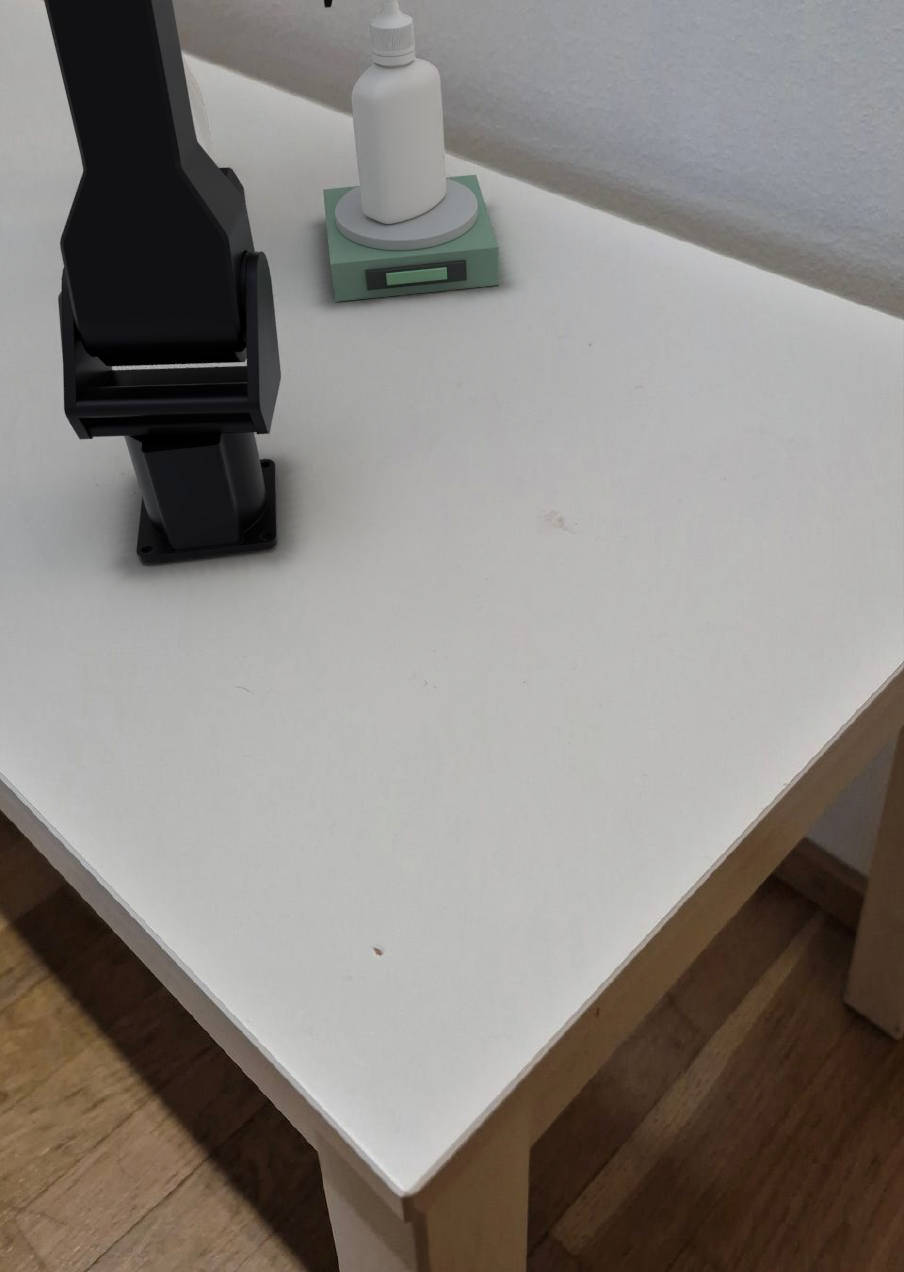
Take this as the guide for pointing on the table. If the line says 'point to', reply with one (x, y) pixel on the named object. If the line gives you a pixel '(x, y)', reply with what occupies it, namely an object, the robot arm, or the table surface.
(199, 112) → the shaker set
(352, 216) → the kitchen scale
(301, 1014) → the table surface
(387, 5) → the eye dropper bottle
